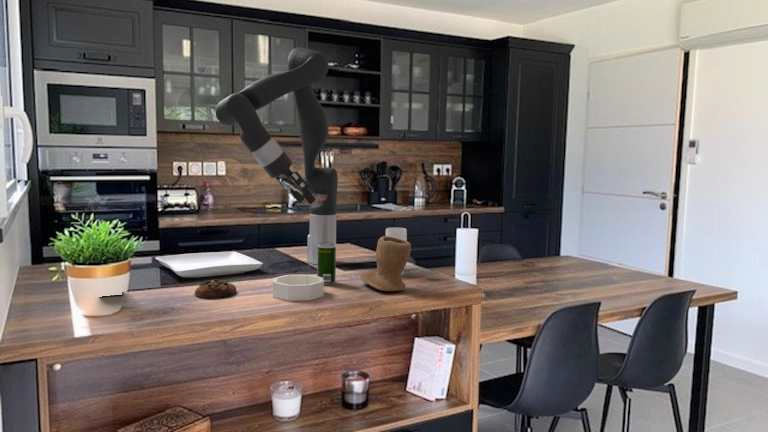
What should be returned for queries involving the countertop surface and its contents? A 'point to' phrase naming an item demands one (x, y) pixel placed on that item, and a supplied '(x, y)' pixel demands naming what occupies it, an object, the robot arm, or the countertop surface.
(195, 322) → the countertop surface
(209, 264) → the square plate
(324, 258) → the beer can
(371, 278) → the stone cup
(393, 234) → the drinking glass
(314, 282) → the cream bowl
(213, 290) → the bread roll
